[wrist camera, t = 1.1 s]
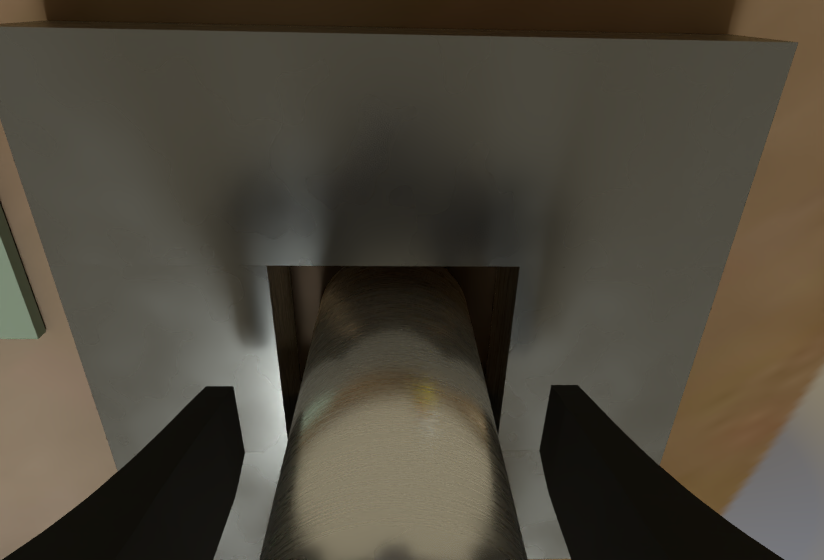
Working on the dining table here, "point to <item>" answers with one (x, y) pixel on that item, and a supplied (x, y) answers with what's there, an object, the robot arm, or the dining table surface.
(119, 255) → the socket block
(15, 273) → the mat
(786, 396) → the dining table surface
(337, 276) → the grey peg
